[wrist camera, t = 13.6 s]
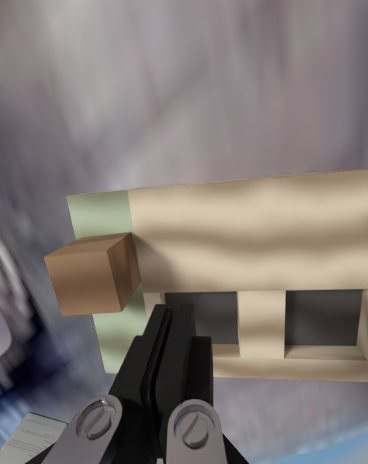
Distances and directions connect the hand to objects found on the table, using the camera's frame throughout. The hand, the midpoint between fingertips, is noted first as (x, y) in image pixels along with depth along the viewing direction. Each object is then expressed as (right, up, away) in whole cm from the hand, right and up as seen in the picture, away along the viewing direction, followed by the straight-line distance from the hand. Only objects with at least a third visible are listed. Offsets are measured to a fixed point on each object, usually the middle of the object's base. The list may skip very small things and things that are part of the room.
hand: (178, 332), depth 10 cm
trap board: (+8, -1, +17) cm, 19 cm away
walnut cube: (-8, +1, +16) cm, 18 cm away
